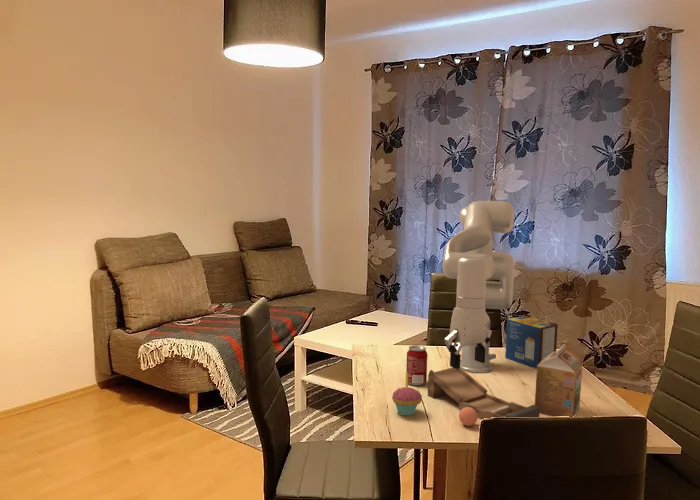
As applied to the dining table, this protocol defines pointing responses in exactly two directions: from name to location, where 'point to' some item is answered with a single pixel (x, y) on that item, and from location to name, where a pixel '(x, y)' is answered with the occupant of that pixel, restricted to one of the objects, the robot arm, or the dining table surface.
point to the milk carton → (559, 383)
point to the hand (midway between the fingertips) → (467, 364)
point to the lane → (474, 395)
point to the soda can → (417, 365)
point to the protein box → (530, 340)
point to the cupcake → (406, 399)
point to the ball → (468, 416)
